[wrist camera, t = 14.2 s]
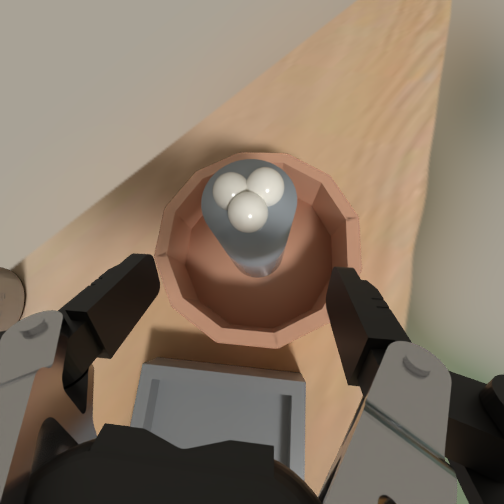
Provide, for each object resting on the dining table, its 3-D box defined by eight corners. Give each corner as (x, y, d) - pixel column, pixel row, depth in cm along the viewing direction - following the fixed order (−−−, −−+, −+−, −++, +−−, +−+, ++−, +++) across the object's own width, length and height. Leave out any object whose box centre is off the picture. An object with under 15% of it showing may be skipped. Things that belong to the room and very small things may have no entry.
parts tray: (123, 543, 16) (98, 584, 14) (158, 357, 20) (142, 363, 17) (296, 577, 15) (302, 628, 13) (300, 372, 18) (305, 382, 16)
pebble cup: (228, 275, 20) (183, 231, 9) (235, 226, 21) (202, 139, 11) (281, 280, 20) (298, 240, 9) (284, 230, 21) (303, 142, 10)
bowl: (168, 329, 20) (137, 334, 15) (194, 182, 24) (176, 150, 20) (341, 346, 19) (366, 357, 14) (337, 187, 23) (355, 154, 18)
